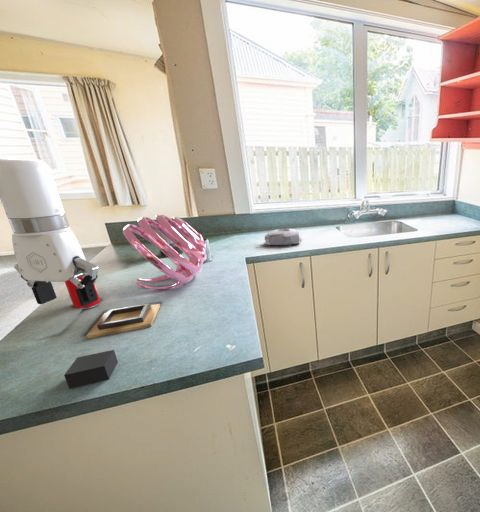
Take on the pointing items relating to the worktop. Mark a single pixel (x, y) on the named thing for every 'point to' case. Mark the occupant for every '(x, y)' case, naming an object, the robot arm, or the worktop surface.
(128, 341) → the worktop surface
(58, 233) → the robot arm
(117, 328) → the base pad
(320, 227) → the worktop surface
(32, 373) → the worktop surface
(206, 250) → the planter
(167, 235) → the spiral basket
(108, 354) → the dark grey rectangular block
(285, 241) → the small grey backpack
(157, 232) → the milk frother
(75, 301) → the beverage can
